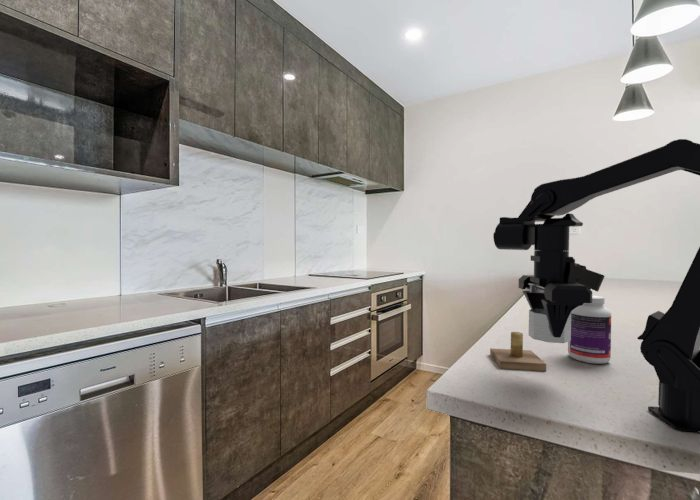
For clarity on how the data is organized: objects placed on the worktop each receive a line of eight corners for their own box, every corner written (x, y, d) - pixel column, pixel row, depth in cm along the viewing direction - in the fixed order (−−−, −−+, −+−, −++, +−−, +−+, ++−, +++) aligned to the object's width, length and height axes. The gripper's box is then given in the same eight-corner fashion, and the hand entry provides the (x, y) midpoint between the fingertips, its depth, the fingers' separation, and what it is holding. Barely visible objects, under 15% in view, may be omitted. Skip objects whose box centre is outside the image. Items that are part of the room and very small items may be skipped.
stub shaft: (546, 371, 73) (546, 339, 72) (500, 368, 74) (500, 337, 74) (530, 356, 81) (531, 329, 81) (490, 354, 83) (490, 327, 83)
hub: (575, 343, 64) (576, 316, 63) (537, 341, 65) (537, 314, 64) (560, 334, 70) (560, 309, 70) (525, 332, 71) (525, 308, 71)
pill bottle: (618, 366, 75) (619, 300, 75) (576, 364, 77) (578, 298, 77) (599, 354, 83) (600, 294, 83) (562, 352, 85) (563, 293, 84)
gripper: (629, 253, 56) (626, 349, 57) (574, 250, 75) (572, 322, 75) (554, 252, 58) (552, 346, 59) (518, 249, 77) (516, 320, 77)
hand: (549, 332), depth 67 cm, fingers closed on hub, 6 cm apart
